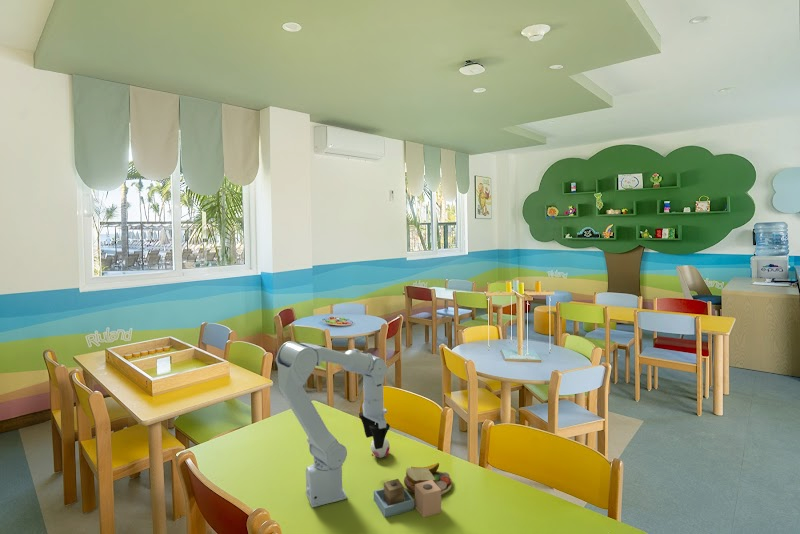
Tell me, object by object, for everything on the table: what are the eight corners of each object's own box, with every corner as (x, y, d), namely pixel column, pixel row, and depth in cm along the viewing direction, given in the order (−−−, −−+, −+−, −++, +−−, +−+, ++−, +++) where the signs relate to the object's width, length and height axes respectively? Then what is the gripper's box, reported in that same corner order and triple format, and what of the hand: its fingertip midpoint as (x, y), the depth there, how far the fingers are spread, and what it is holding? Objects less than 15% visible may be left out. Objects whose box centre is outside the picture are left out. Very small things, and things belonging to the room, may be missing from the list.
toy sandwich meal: (457, 497, 121) (457, 480, 121) (407, 502, 119) (407, 484, 119) (446, 472, 133) (446, 456, 133) (400, 476, 132) (400, 460, 131)
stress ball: (385, 471, 140) (397, 455, 139) (363, 457, 139) (375, 440, 138) (387, 457, 147) (398, 442, 146) (366, 444, 147) (378, 428, 146)
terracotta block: (423, 517, 113) (423, 494, 112) (414, 506, 117) (414, 484, 117) (441, 512, 115) (441, 489, 114) (431, 501, 119) (431, 479, 119)
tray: (384, 517, 112) (384, 508, 112) (373, 499, 120) (373, 491, 120) (414, 509, 116) (413, 500, 115) (401, 492, 123) (401, 483, 123)
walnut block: (389, 509, 115) (389, 490, 115) (384, 500, 119) (383, 481, 118) (404, 505, 117) (404, 486, 116) (398, 496, 120) (397, 478, 120)
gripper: (396, 403, 126) (396, 450, 127) (377, 386, 139) (378, 429, 140) (372, 408, 123) (372, 455, 124) (355, 390, 136) (356, 433, 137)
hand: (374, 442), depth 132 cm, fingers open, 7 cm apart
